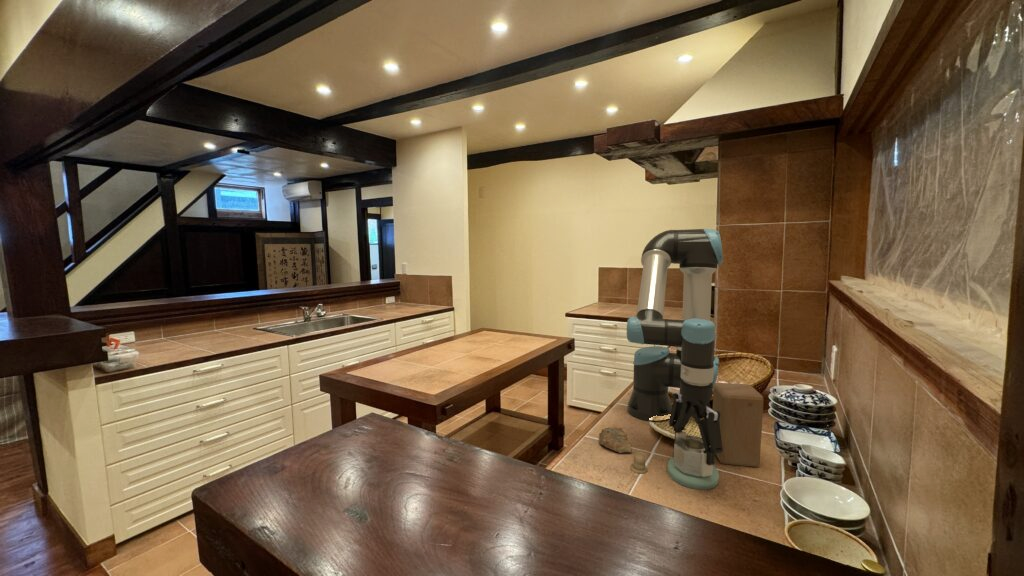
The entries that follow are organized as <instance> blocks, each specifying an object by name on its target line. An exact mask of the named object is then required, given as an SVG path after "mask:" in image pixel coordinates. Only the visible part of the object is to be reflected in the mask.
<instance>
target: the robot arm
mask: <svg viewBox="0 0 1024 576" xmlns="http://www.w3.org/2000/svg"><path fill="white" fill-rule="evenodd" d="M721 239H722V238H721V235H720V232H719V231H718V230H716V229H712V228H711V229H710V228H709V229H708V228H699V229H698V228H697V229H696V228H695V229H694V228H693V229H669V230H665V231H662V232H659V233H658V234H656V235H655V236H654V237H653V238H652V239H650V240H649V241H648V243H646V245H645V247H644V249H643V251H642V254H641V258H640V262H641V265H642V273H641V274H642V275H641V279H640V281H641V282H640V288H639V294H638V302H637V308H636V316H630V317H628V318H627V323H626V338H627V341H628V342H629V343H633V344H639V345H651V346H646V347H640V348H638V349H636V351H634V355H633V357H634V358H633V362H632V364H633V383H632V387H633V388H632V392H631V394H630V396H629V399H628V403H627V412H628V414H630V415H631V416H632V417H635V418H637V419H640V420H643V421H649V418H651V417H653V416H656V415H657V416H664V415H668V414H671V416H670V419H669V423H668V425H669V427H671V428H673V431H674V441H675V439H676V437H680V436H685V435H687V431H686V427H687V424H688V423H689V422H690V421H689V420H690V418H691V417H693V419H694V422H695V423H696V424H697V426H698V429H699V433H700V438H702V441H703V445H704V448H705V450H702V468H701V476H703V477H705V476H710V475H712V470H713V466H714V465H715V460H716V454H717V453H722V452H723V448H722V440H721V432H720V423H719V420H720V412H719V411H716V412H715V411H713V408H711V404H710V400H712V399H713V389H714V384H715V383H717V378H718V374H719V364H720V359H719V357H717V356H715V345H716V336H717V334H716V324H715V323H714V321H711V308H712V287H713V285H712V284H713V283H712V279H713V274H714V273H715V272H716V271H717V270H718V265H722V264H723V260H724V259H723V245H722V240H721ZM671 264H672V265H673V264H675V265H676V264H679V270H680V271H681V272H682V274H683V289H682V290H683V292H682V293H683V295H682V317H681V318H682V319H671V318H670V319H669V318H664V315H665V314H664V312H665V300H666V299H665V298H666V288H667V276H668V275H667V274H668V268H670V266H671ZM652 345H653V346H652ZM665 346H667V347H665ZM668 347H674V348H675V347H676V352H670V349H669V348H668ZM669 388H674V389H675V388H676V389H679V392H678V393H677V392H676V393H673V394H672V397H673V399H672V400H673V402H671V399H670V396H669ZM649 422H650V421H649ZM709 446H710V447H709Z"/></svg>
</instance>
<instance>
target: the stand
mask: <svg viewBox="0 0 1024 576" xmlns="http://www.w3.org/2000/svg"><path fill="white" fill-rule="evenodd" d="M646 459H647V458H646V453H644V452H641V451H635V452H633V463H631V464H630V469H631V471H633V472H634V473H637V474H642V475H643V474H646V473H648V472H649V467H648V466H647V465H646Z"/></svg>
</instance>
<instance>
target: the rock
mask: <svg viewBox="0 0 1024 576" xmlns="http://www.w3.org/2000/svg"><path fill="white" fill-rule="evenodd" d="M627 436H628V435H627V433H626V432H625V430H623V427H619V428H618V427H614V426H613V427H612V426H611V427H607V428H603V429H601V431H600V432H599V437H598V438H599V439H598V440H599V444H600V445H602V446H603V447H605V448H607V449H610V450H613V451H615V452H618V453H620V454H622V453H623V454H624V453H631V452H632V451H633V448H632V444H631V443H630V441H629V439H628V437H627Z"/></svg>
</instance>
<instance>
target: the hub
mask: <svg viewBox="0 0 1024 576" xmlns="http://www.w3.org/2000/svg"><path fill="white" fill-rule="evenodd" d="M719 474H720V473H719V471H718V469H717V467H715V466H714V465H713V470H712V475H710V476H705V477H703V476H700V477H699V476H695V475H690V474H686V473H683V472H682V471H681V470H679V469H678V468H677V467H675V466H674V456H673V457H671V458H669V460H668V461H667V475H668V476H669V477H670V478H671V480H673V481H674V482H676V483H677V484H679V485H681V486H683V487H686V488H689V489H693V490H699V491H701V490H703V491H704V490H705V491H706V490H712V489H713V488H716V486H718V484H719Z"/></svg>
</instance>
